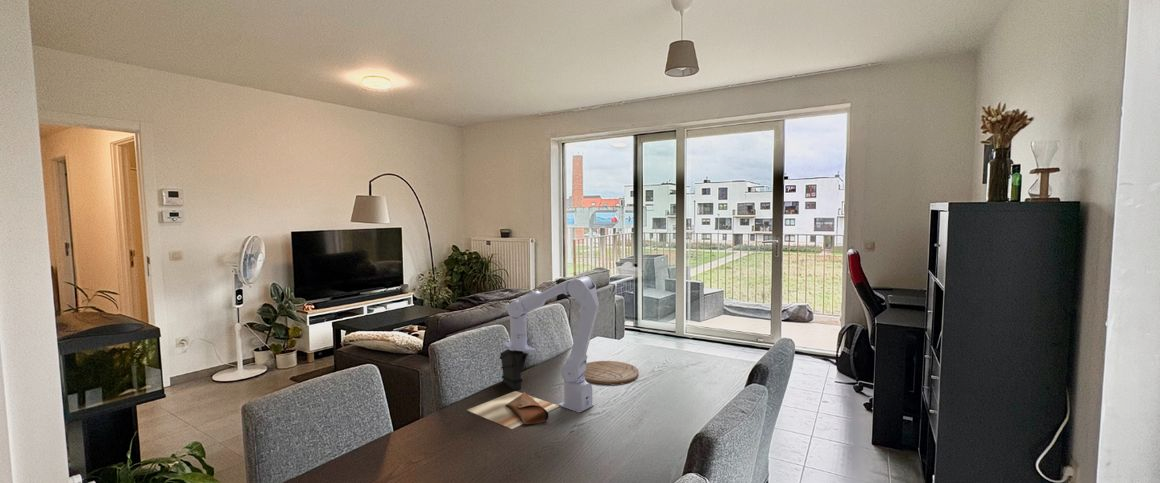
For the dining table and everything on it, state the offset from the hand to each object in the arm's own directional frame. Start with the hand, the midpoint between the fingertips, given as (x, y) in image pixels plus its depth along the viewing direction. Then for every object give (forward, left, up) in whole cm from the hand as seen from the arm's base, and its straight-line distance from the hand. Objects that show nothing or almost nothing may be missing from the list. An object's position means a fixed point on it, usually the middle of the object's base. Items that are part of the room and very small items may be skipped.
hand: (519, 371), depth 169 cm
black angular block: (+12, -7, -10) cm, 17 cm away
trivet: (-10, -40, -10) cm, 42 cm away
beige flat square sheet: (-6, +8, -9) cm, 14 cm away
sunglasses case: (-12, +8, -9) cm, 17 cm away
